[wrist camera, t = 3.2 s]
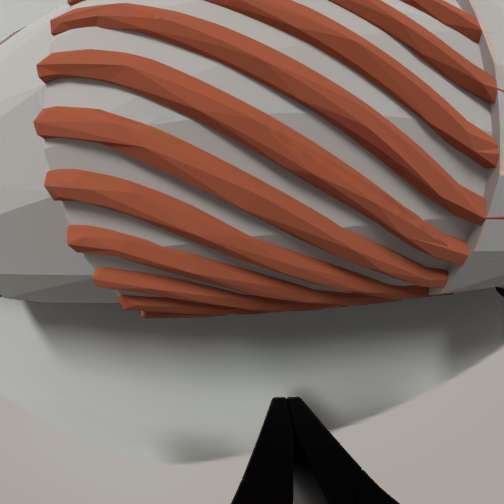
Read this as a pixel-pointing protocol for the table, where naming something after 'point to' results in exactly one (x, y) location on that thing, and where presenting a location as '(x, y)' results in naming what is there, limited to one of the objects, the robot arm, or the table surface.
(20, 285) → the cable
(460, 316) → the table surface
